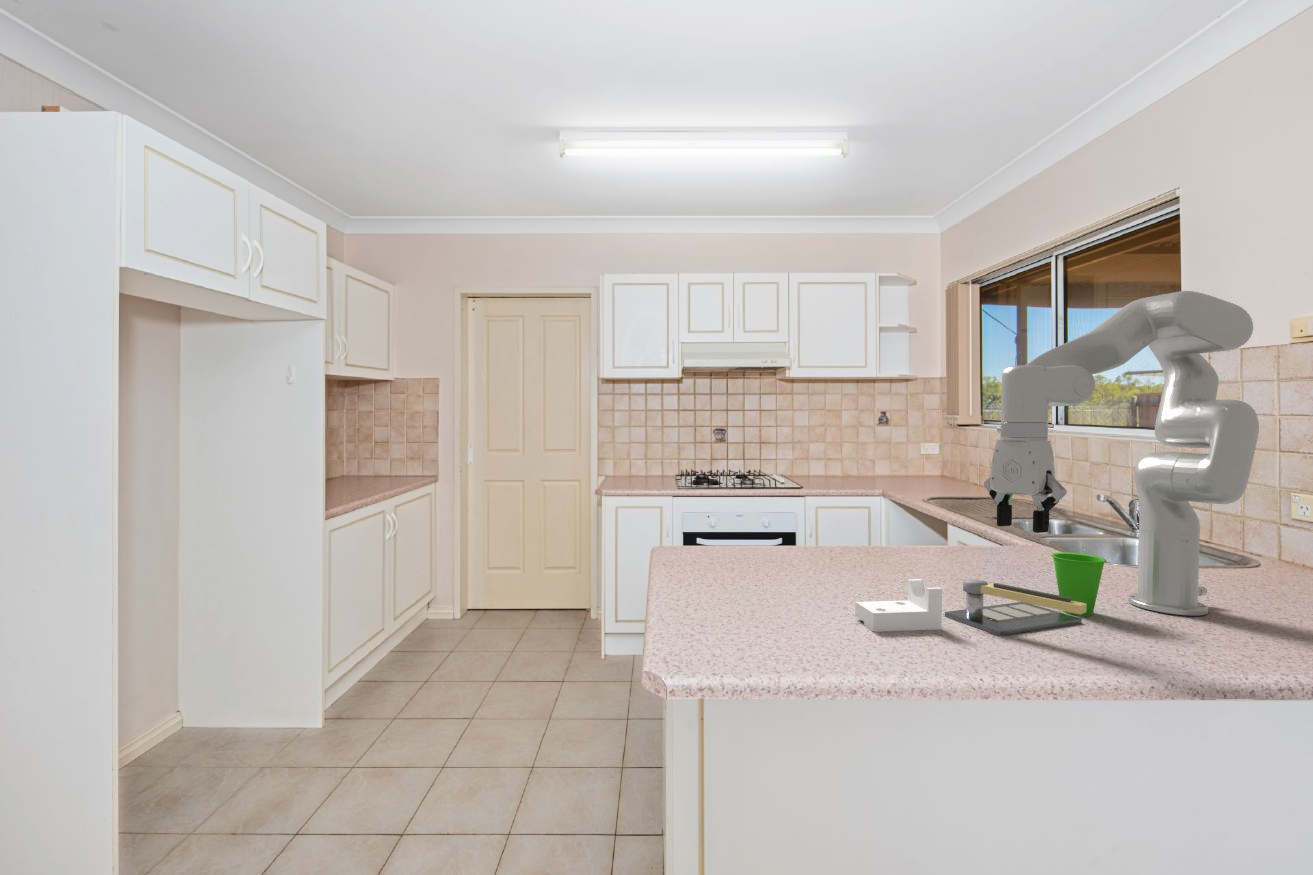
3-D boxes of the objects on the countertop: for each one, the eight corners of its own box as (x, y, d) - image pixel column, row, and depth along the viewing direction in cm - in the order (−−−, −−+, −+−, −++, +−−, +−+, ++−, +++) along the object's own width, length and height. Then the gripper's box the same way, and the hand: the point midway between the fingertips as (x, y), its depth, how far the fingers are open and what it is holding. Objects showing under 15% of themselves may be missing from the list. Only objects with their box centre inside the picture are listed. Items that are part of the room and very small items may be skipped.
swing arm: (958, 590, 116) (959, 578, 116) (969, 587, 118) (969, 575, 118) (1079, 616, 100) (1079, 603, 100) (1088, 612, 103) (1088, 599, 103)
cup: (1114, 620, 118) (1116, 563, 117) (1061, 617, 119) (1062, 560, 119) (1091, 607, 126) (1092, 553, 126) (1042, 604, 128) (1043, 551, 128)
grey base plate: (1022, 605, 127) (1023, 578, 127) (1081, 623, 116) (1082, 593, 116) (944, 616, 120) (945, 587, 119) (999, 636, 108) (1000, 604, 108)
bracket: (919, 618, 119) (920, 579, 119) (941, 630, 112) (942, 588, 112) (855, 620, 117) (855, 580, 117) (873, 633, 110) (873, 590, 110)
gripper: (969, 432, 122) (967, 523, 122) (1054, 433, 106) (1052, 538, 106) (997, 432, 125) (995, 521, 125) (1084, 433, 108) (1082, 535, 109)
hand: (1021, 528), depth 115 cm, fingers open, 6 cm apart
